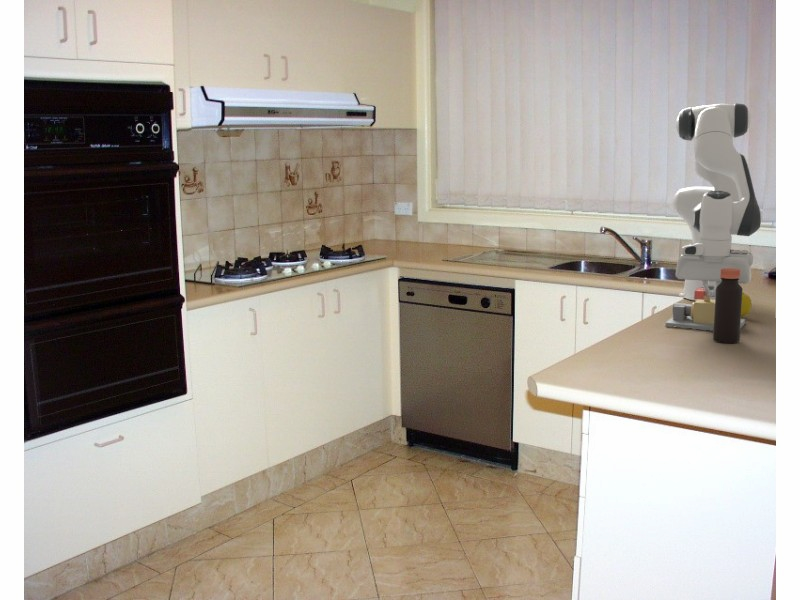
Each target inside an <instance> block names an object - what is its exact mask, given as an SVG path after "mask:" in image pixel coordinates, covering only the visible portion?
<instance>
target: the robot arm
mask: <svg viewBox="0 0 800 600" xmlns="http://www.w3.org/2000/svg"><path fill="white" fill-rule="evenodd" d="M748 108H749V107H748V106H747V105H745V104H743V103H737V102H736V103H734V104H732V103H713V104H708V105H700V106H695V107H692V106H690V107H686V108H683V109H681V111H680V112H678V116H677V118H676V121H675V128H676V131H677V134H678V136H679V138H680V139H682V140H684V141H690V142H691V141H693V152H694V153H693V154H694V170H695V173H696V175H697V176H698V177H699V178H700V179H702V180H704V181H706V182H708V183H709V184H710V185H711V186H690V187H684V188H680V189H678V190H677V192H676V193H675V194H674V197H673V199H672V206H673V207H672V208H673V210H674V212H675V214H676V215H677V216H678V217H679V218H681V219H682V220H683V221H684V223H686V225H687V226H688V228H689V230H690V233H691V237H692V239H691V240H692V243H690V244H686V245H684V246H682V247H681V249H680V253H681V255H680V256H679V257H678V259H677V263H676V268H675V277H676V278H677V279H678V280H684V286H683V287H684V288H683V292H680V293H678V296H679V297H681V298H685V299H687V300H691V301H694V302H695V301H697V300H698V299H694V293H695V290H696V289H698V288H701V286H703V287H704V288H705V290H706V296H707V297H710V300H715V298H716V287H717V286H718V285H719V284H720V283H721V280H722V279H721V277H720V275H721V269H725V268H731V269H739V270H740V278H739V280H738V284H744V285H746V284H748V283H750V281H751V280H752V268H751V267H752V265H753V262H754V256H753V253H751V252H749V250H746V249H745V250H740V249H739V250H738V249H732V239H733V238H732V237H733V235H734V236H735V235H736V236H741V237H750V236H752V235H753V234H755V233H756V232H758V230H760V228H761V223H762V213H761V209H760V207H759V204H758V200H757V198H756V193H755V189H754V186H753V185H754V184H753V181H752V177H751V173H750V168H749V165H748V162H747V159H746V157H745V155H743V154H742V153H740V152H739V151H738V150H737V149H736V147H735V145H734V139H733V138H738V137H739V138H740V137H741V136H745V134H746V133H747V132H748V130H749V128H750V126H751V121H752V120H751V119H752V118H751V113H750V111H749V109H748ZM708 285H710V286H714V290H710V289H709V287H708Z"/></svg>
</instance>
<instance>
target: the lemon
mask: <svg viewBox="0 0 800 600" xmlns="http://www.w3.org/2000/svg"><path fill="white" fill-rule="evenodd" d="M751 311H752V299H751V297H750V296H749V295H748V294H746V293H744V292H742V306H741V319H743V317H745V316H747V315H749V313H750V312H751Z"/></svg>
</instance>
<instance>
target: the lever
mask: <svg viewBox="0 0 800 600" xmlns="http://www.w3.org/2000/svg"><path fill="white" fill-rule="evenodd" d="M708 287H709V289H710V290H714V286H710V285H708ZM706 297H707V296H706V290H705V288H704V287H703V286H701V288H698V289H696V290H695V293H694V299H699V300H704V299H705V298H706Z"/></svg>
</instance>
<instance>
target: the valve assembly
mask: <svg viewBox="0 0 800 600" xmlns="http://www.w3.org/2000/svg"><path fill="white" fill-rule="evenodd" d="M714 315H715V300H710V297H706V298H705V299H704V300H699V299H698V300H697V301H695V300H694V301H693V302H692V304H689V303H682V302H679V303H678V302H674V303H673V306H672V316H671V318H669V319H668V320H667V321H666V322H665V327H666V326H676V327H683V328H682V329H686V328H692V329H691V330H696V329H701V330H700V331H706V330H710V331H709V332H714ZM745 324H746V318H741V321H740V330H741V329H742V327H743V326H744V325H745Z"/></svg>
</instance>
